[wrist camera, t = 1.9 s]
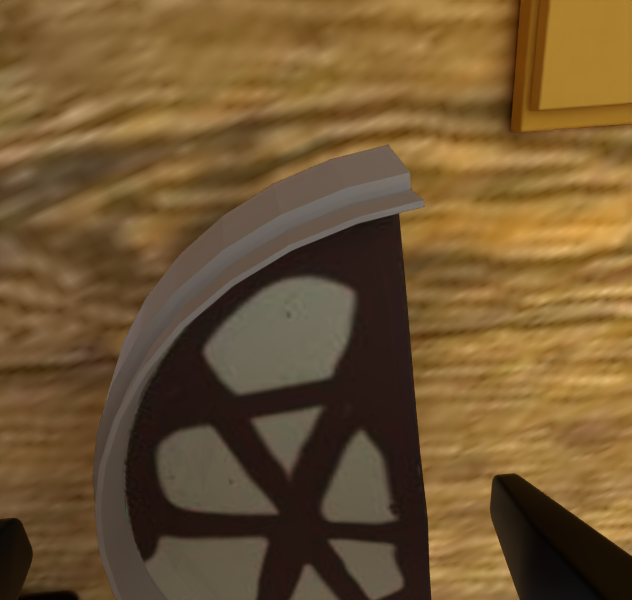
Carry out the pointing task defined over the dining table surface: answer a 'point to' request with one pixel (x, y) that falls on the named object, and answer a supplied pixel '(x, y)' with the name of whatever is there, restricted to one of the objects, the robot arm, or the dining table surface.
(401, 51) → the dining table surface
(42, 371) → the dining table surface
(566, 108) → the yellow brown rectangular slab
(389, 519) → the food container
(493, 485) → the robot arm
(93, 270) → the dining table surface
